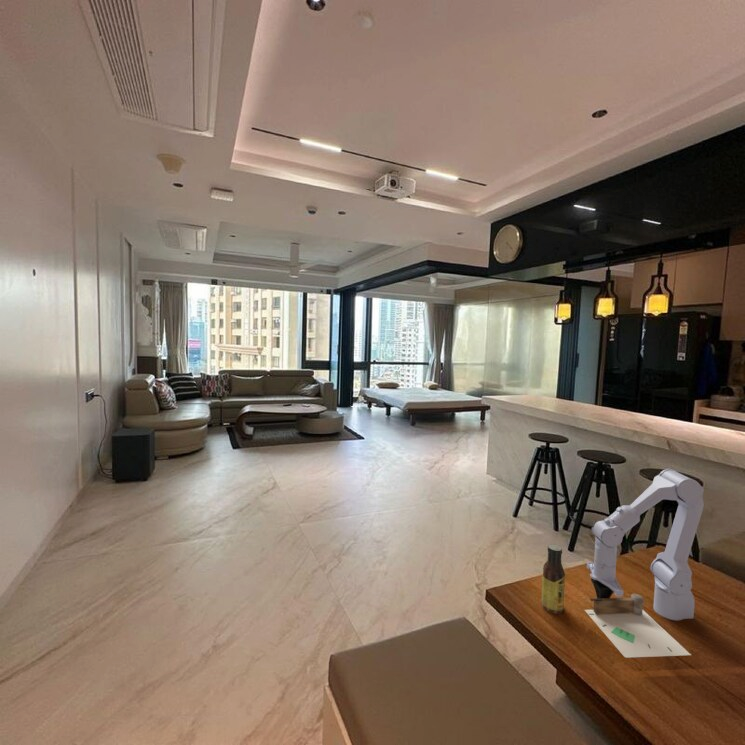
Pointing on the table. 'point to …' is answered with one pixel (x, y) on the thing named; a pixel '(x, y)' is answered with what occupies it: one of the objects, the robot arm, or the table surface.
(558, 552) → the sauce bottle
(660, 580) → the robot arm
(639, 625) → the tuner dial board
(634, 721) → the table surface
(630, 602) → the tuning lever
